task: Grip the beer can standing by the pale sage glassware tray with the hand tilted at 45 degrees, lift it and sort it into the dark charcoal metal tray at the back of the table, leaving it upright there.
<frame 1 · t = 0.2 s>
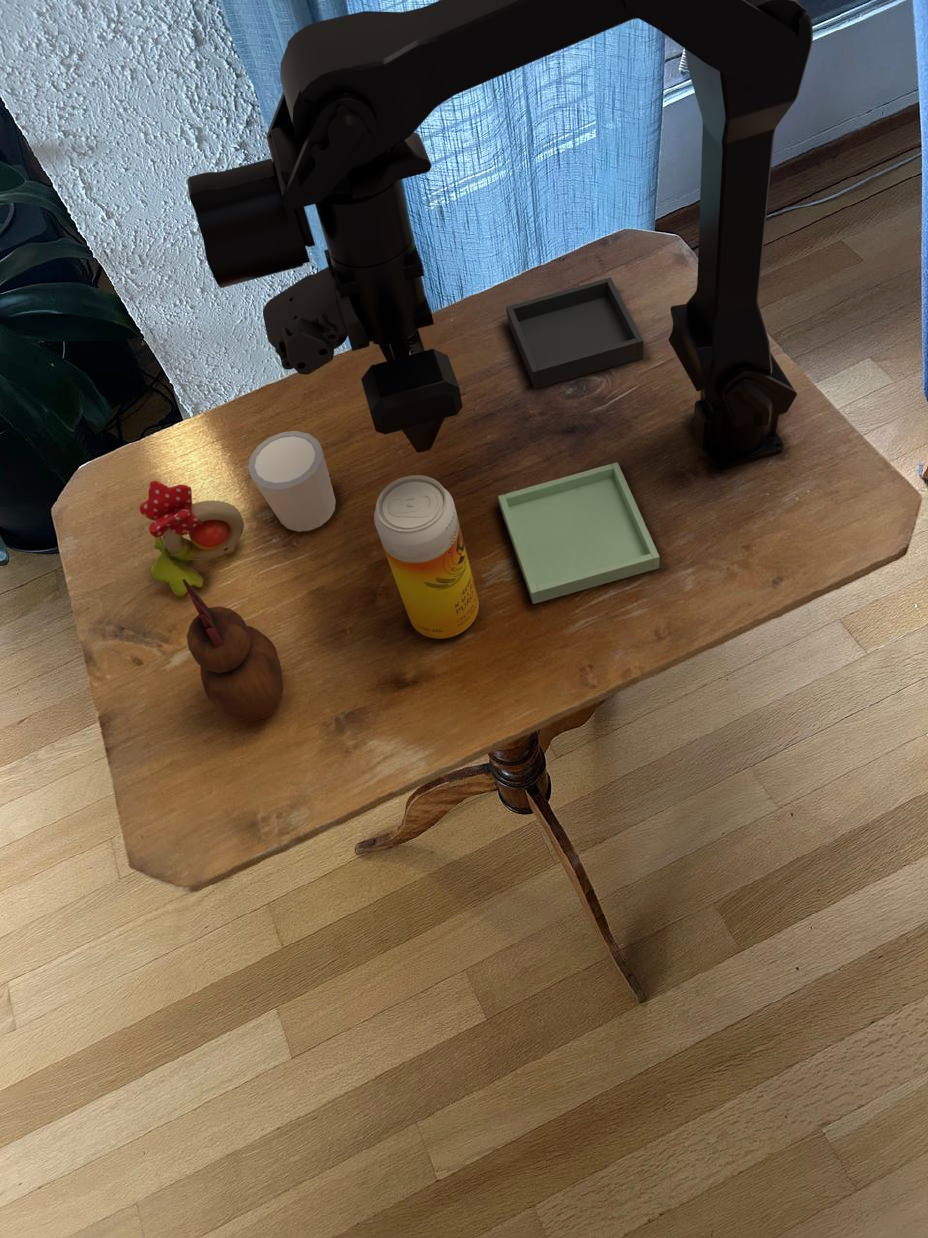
hand: (411, 409, 78), 15 cm above the table, tool pointing down, fingers open, 9 cm apart
beer can: (445, 614, 85), on the table
white cup: (307, 509, 94), on the table
wooden figurine: (259, 698, 83), on the table
sage tray: (576, 536, 87), on the table
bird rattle: (209, 562, 92), on the table
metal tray: (574, 340, 101), on the table
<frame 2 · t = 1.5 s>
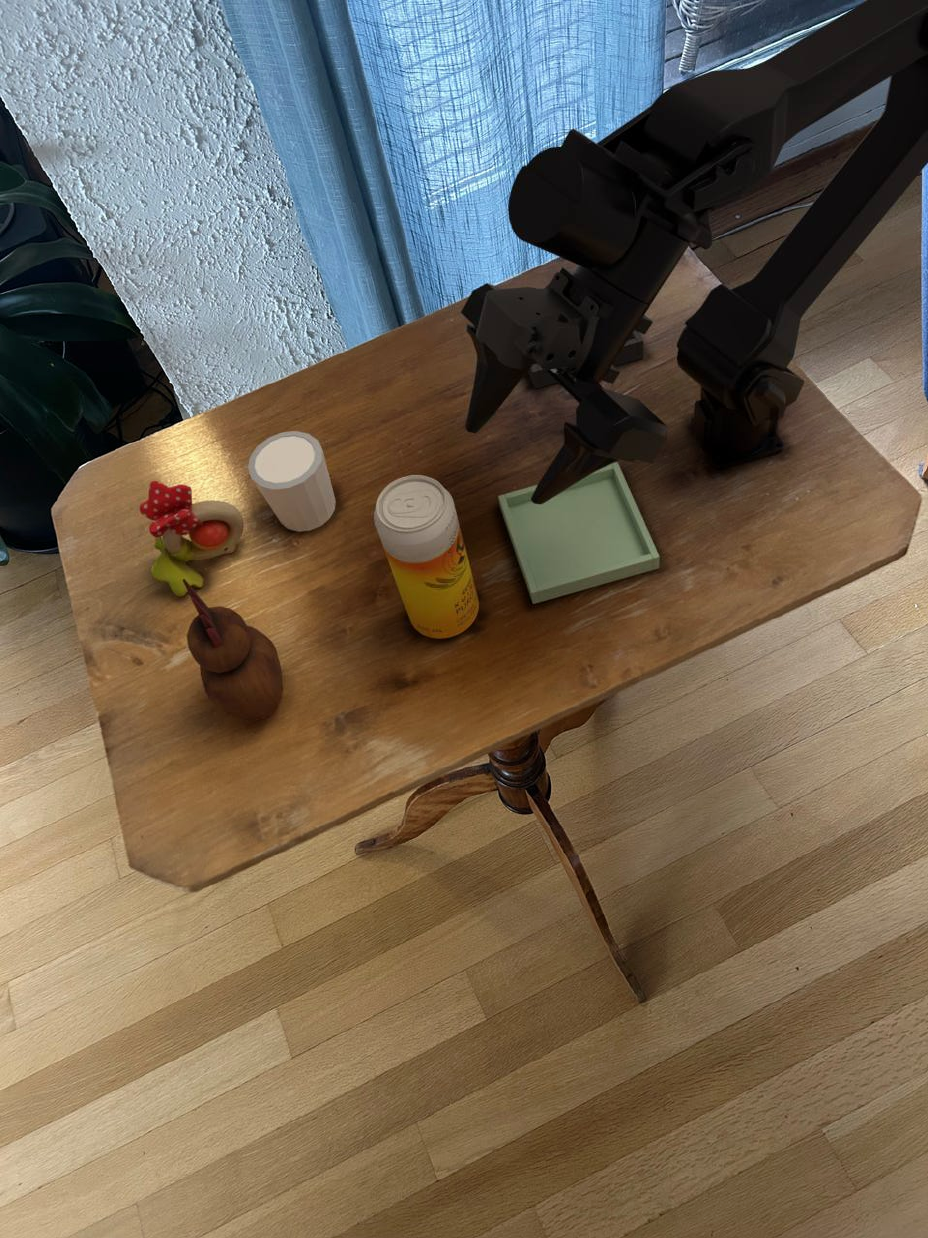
hand: (502, 465, 75), 13 cm above the table, tool tilted 45°, fingers open, 9 cm apart
nothing on the table moved.
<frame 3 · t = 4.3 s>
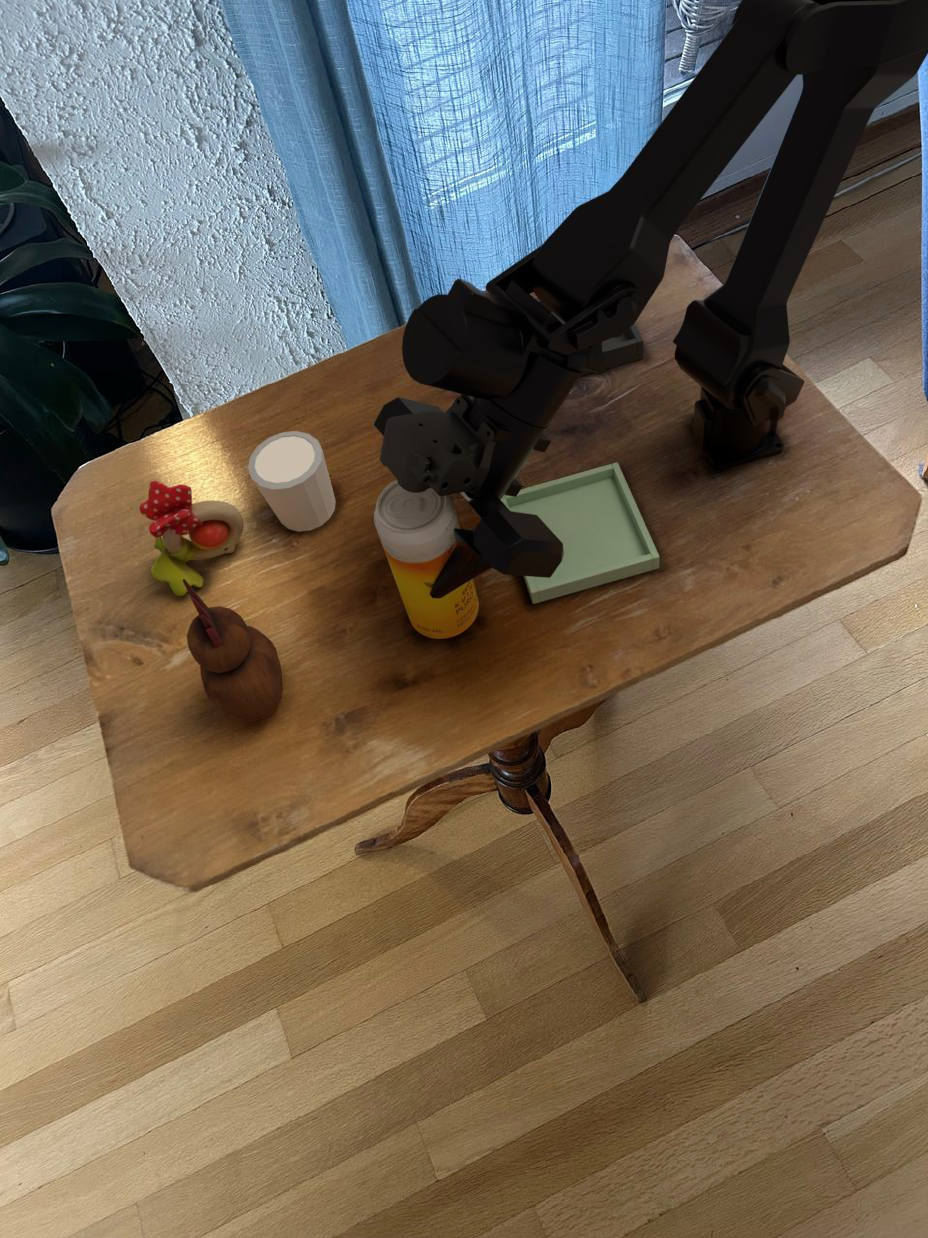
hand: (414, 570, 78), 8 cm above the table, tool tilted 45°, fingers closed on beer can, 6 cm apart
beer can: (445, 614, 85), on the table, touching gripper
everything else where it was.
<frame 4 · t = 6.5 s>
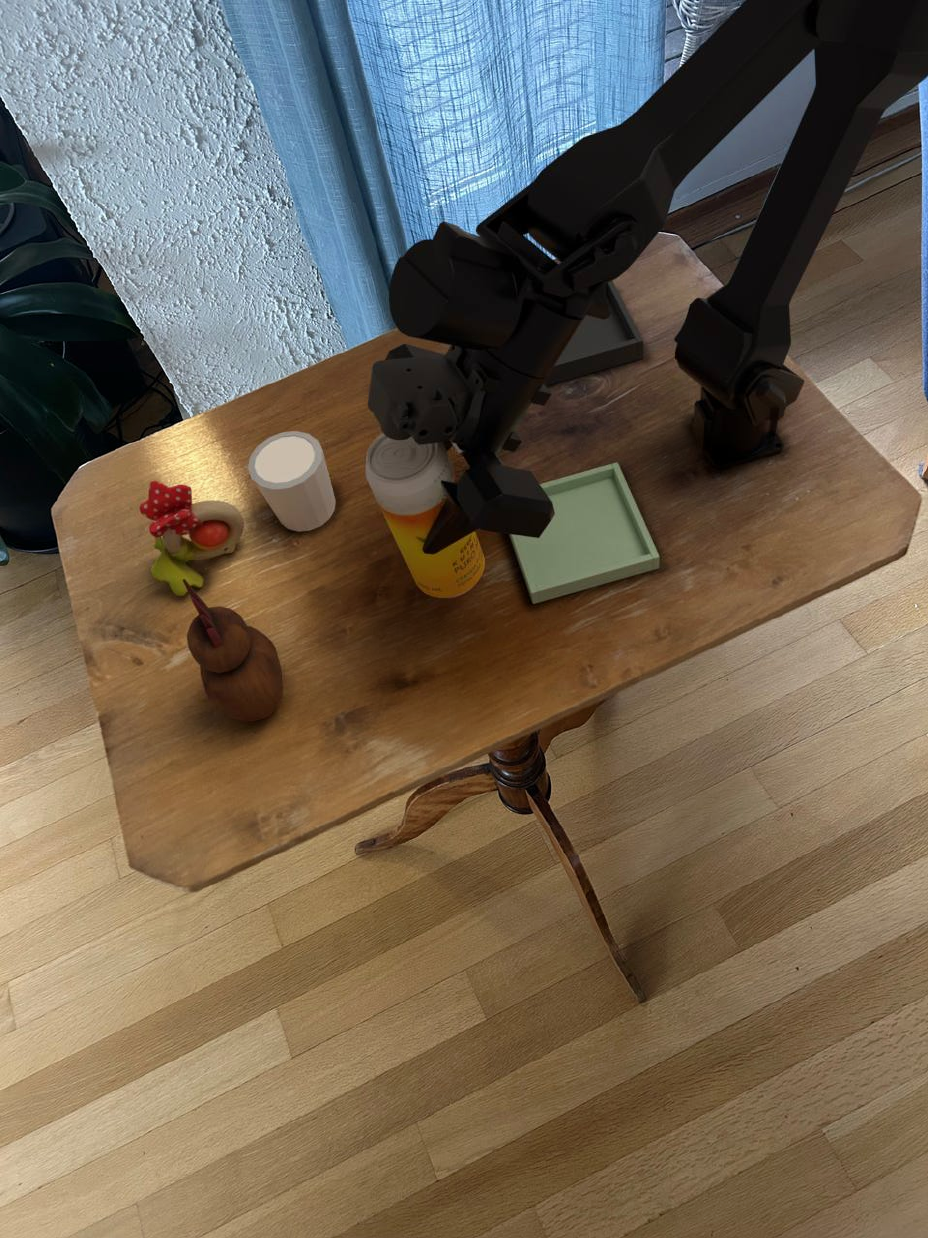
hand: (412, 524, 76), 11 cm above the table, tool tilted 40°, fingers closed on beer can, 6 cm apart
beer can: (451, 574, 82), point 4 cm above the table, touching gripper
everything else where it was.
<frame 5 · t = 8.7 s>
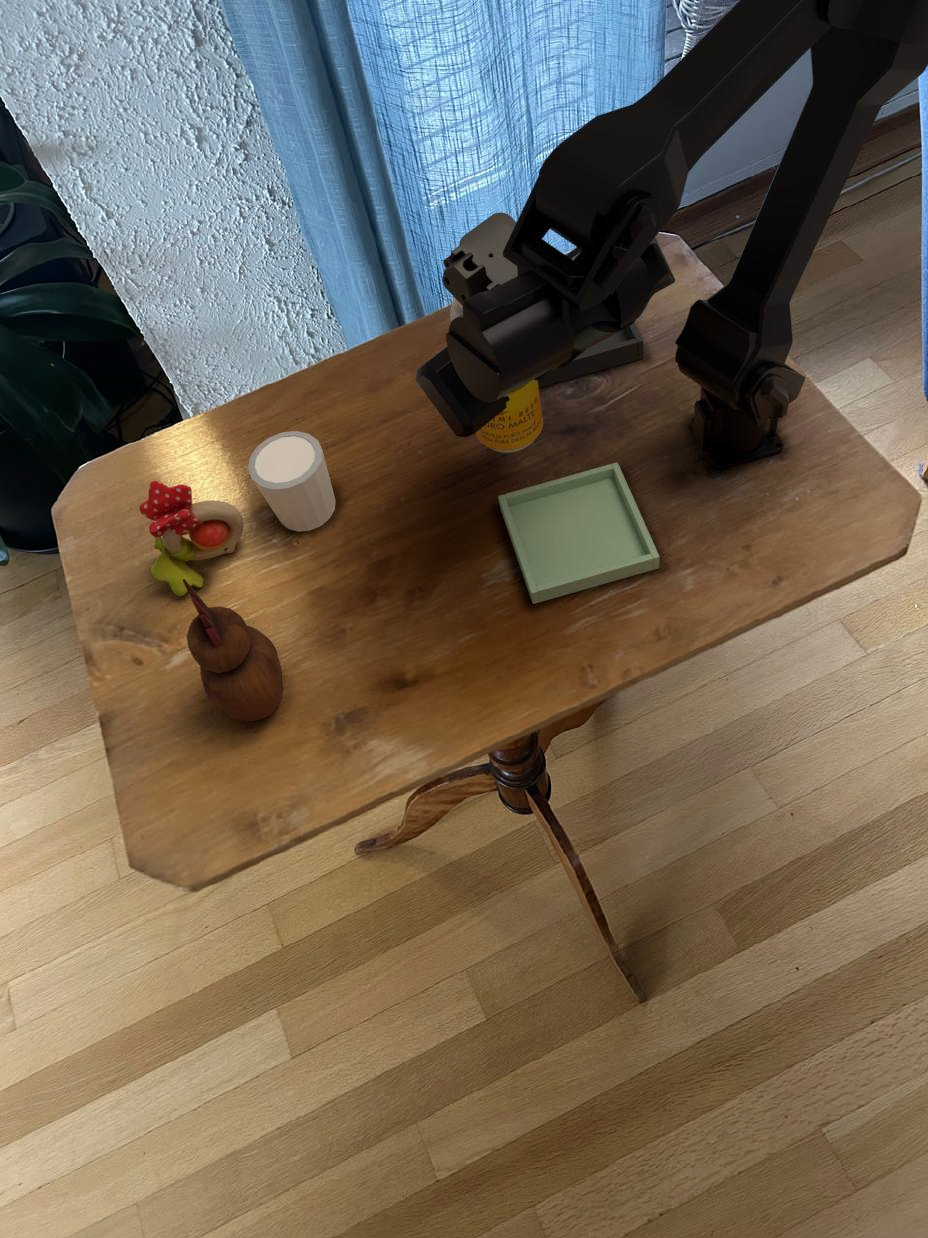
hand: (487, 360, 83), 12 cm above the table, tool tilted 45°, fingers closed on beer can, 6 cm apart
beer can: (510, 433, 89), point 5 cm above the table, touching gripper
everything else where it was.
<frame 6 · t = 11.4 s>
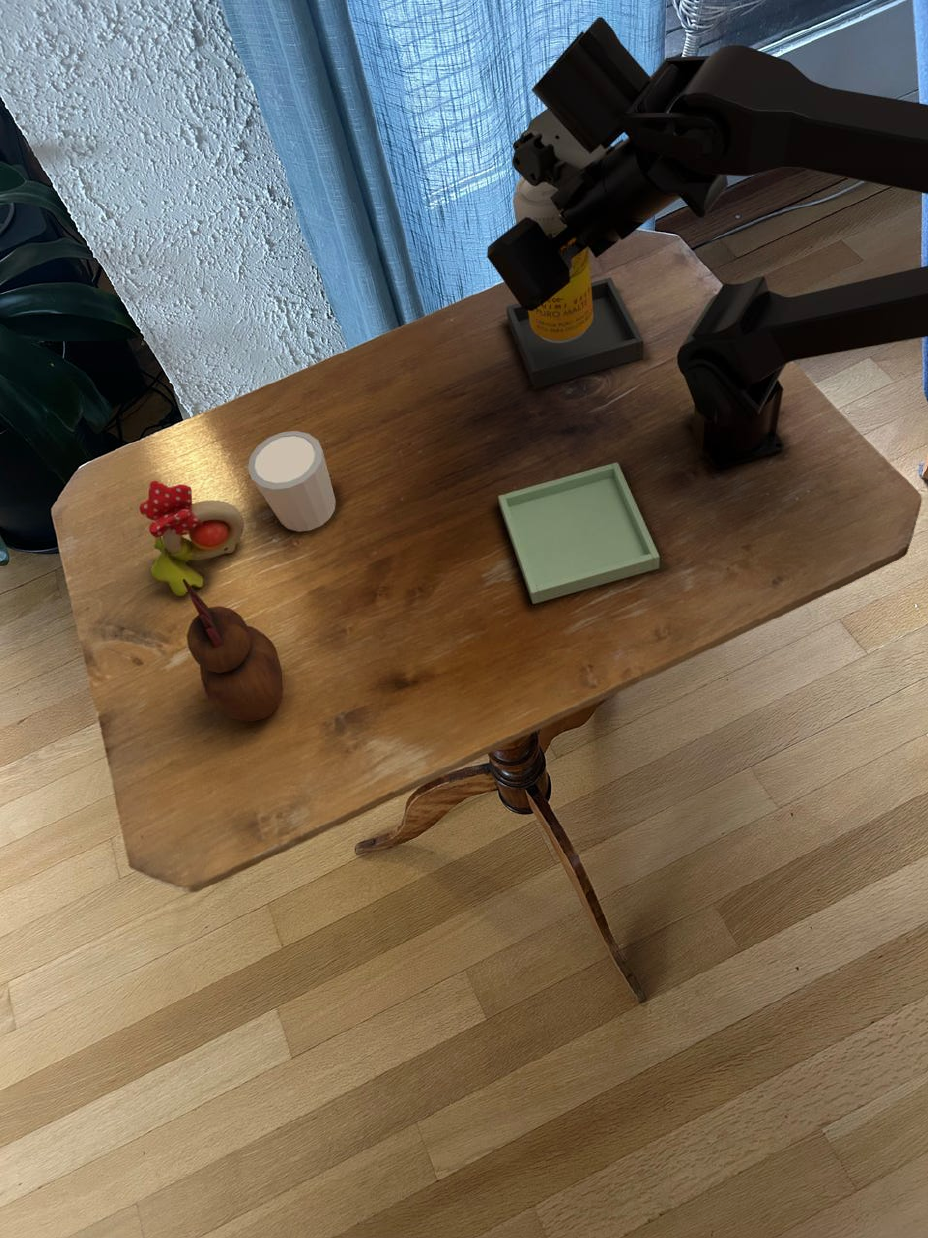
hand: (544, 252, 90), 12 cm above the table, tool tilted 45°, fingers closed on beer can, 6 cm apart
beer can: (562, 326, 96), point 4 cm above the table, touching gripper
everything else where it was.
when the fingers open (8 cm above the table, at t = 13.4 s): beer can stays where it is, resting on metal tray.
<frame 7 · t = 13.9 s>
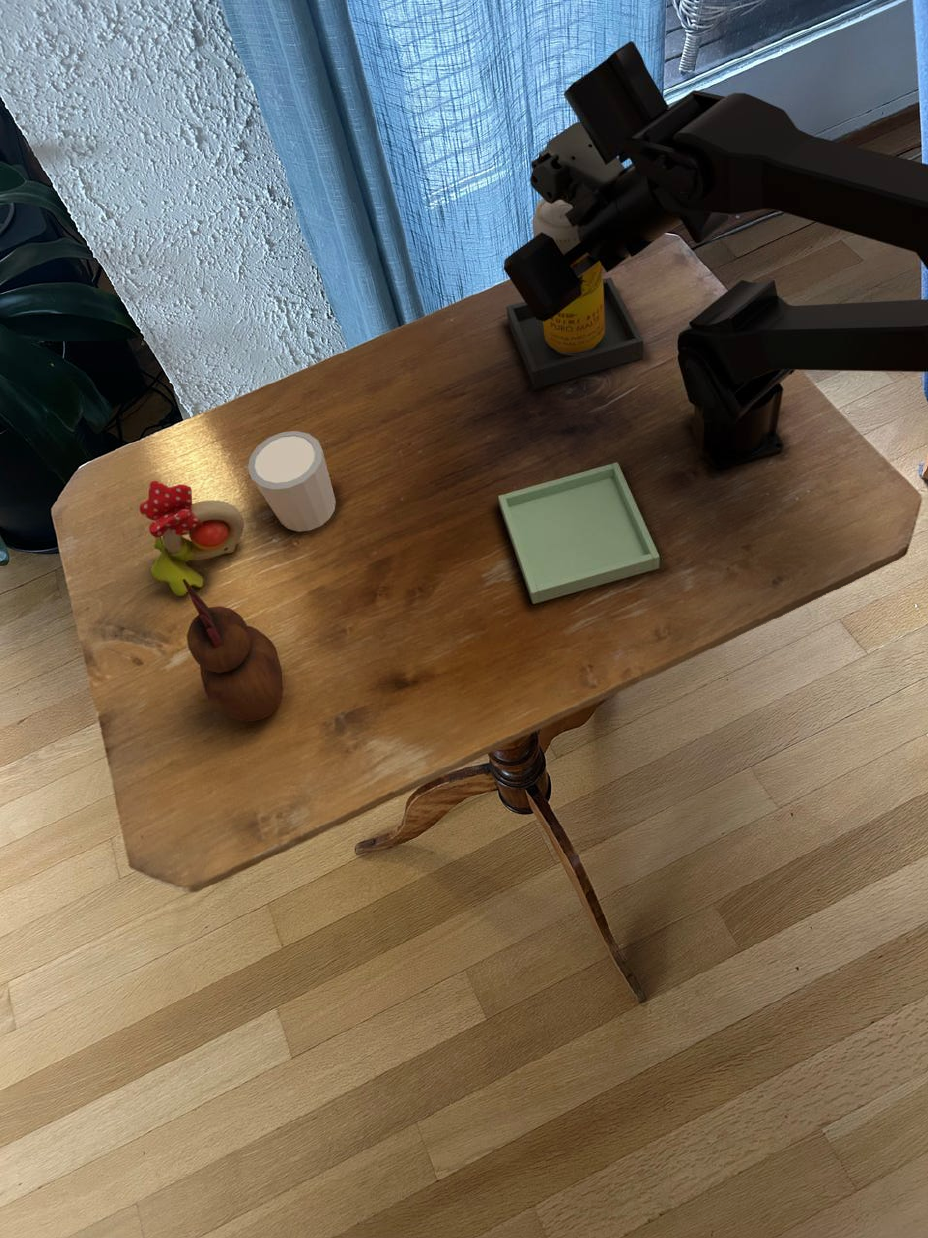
hand: (557, 263, 94), 9 cm above the table, tool tilted 45°, fingers open, 9 cm apart
beer can: (575, 339, 100), resting on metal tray
everything else where it was.
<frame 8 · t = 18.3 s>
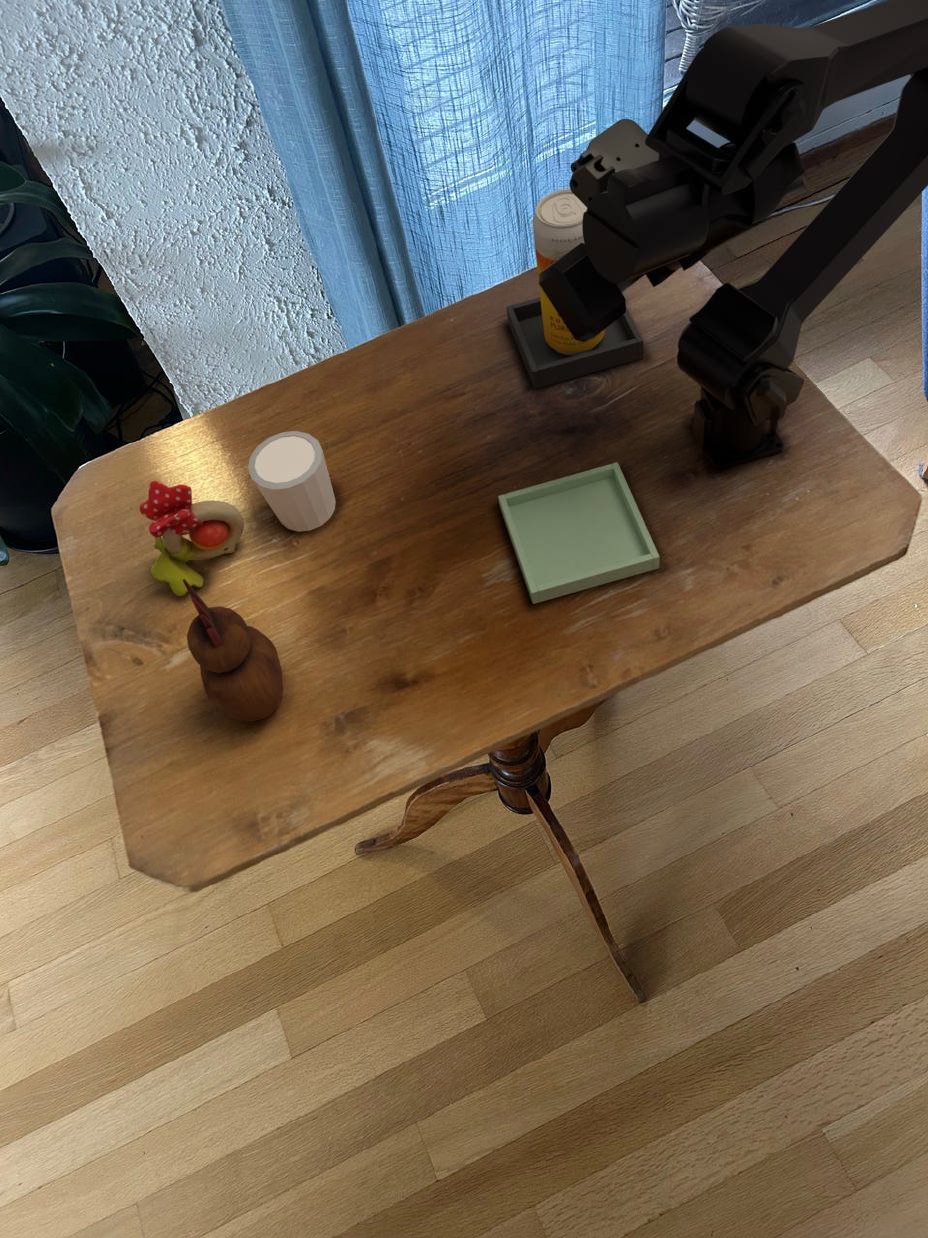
hand: (594, 276, 85), 14 cm above the table, tool tilted 45°, fingers open, 9 cm apart
nothing on the table moved.
at the end: beer can inside the target area in the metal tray (0.2 cm from its centre), point 0.3 cm above the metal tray's base; beer can tilted 0°; the gripper is holding nothing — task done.
